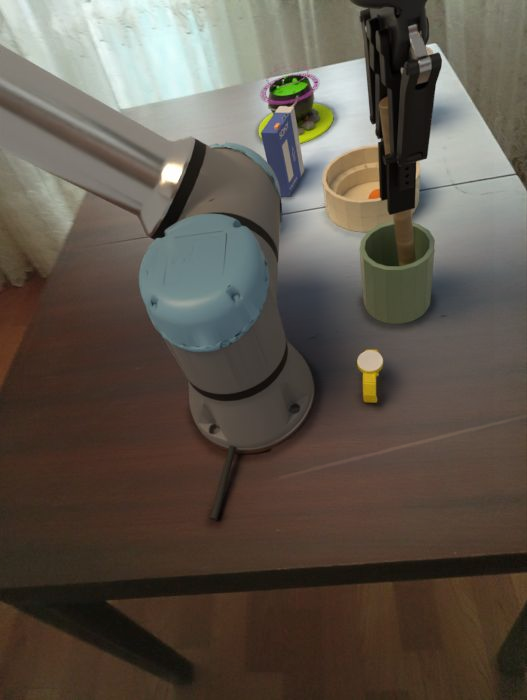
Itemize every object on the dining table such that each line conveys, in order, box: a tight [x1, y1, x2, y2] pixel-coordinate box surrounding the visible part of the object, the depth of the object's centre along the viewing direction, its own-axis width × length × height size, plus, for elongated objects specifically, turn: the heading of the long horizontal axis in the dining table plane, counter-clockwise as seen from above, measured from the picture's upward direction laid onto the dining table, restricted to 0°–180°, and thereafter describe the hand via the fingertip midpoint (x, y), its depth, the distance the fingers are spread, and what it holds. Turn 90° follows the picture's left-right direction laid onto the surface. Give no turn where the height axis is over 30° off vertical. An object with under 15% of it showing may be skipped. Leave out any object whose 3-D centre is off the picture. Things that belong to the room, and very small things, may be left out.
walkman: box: [261, 106, 305, 198], centre depth 82 cm, size 8×3×12 cm, turn 157°
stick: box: [379, 97, 416, 266], centre depth 55 cm, size 2×2×26 cm
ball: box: [368, 189, 380, 199], centre depth 76 cm, size 3×3×3 cm
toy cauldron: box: [258, 60, 334, 145], centre depth 95 cm, size 15×15×11 cm
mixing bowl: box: [321, 144, 421, 233], centre depth 76 cm, size 14×14×6 cm
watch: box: [356, 349, 384, 404], centre depth 56 cm, size 6×3×6 cm, turn 170°
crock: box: [359, 221, 436, 325], centre depth 62 cm, size 8×8×10 cm
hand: (397, 202), depth 53 cm, fingers closed on stick, 2 cm apart
